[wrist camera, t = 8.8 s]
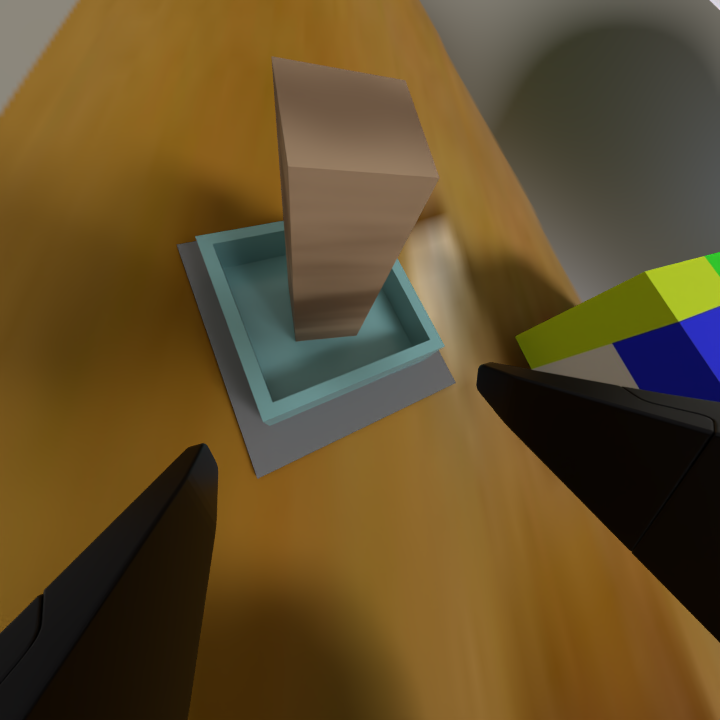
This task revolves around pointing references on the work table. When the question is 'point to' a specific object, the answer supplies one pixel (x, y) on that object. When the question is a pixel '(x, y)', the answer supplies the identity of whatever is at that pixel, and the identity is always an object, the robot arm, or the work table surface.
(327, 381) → the dish
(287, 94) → the block
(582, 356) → the puzzle toy
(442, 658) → the work table surface
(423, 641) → the work table surface
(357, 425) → the mat
